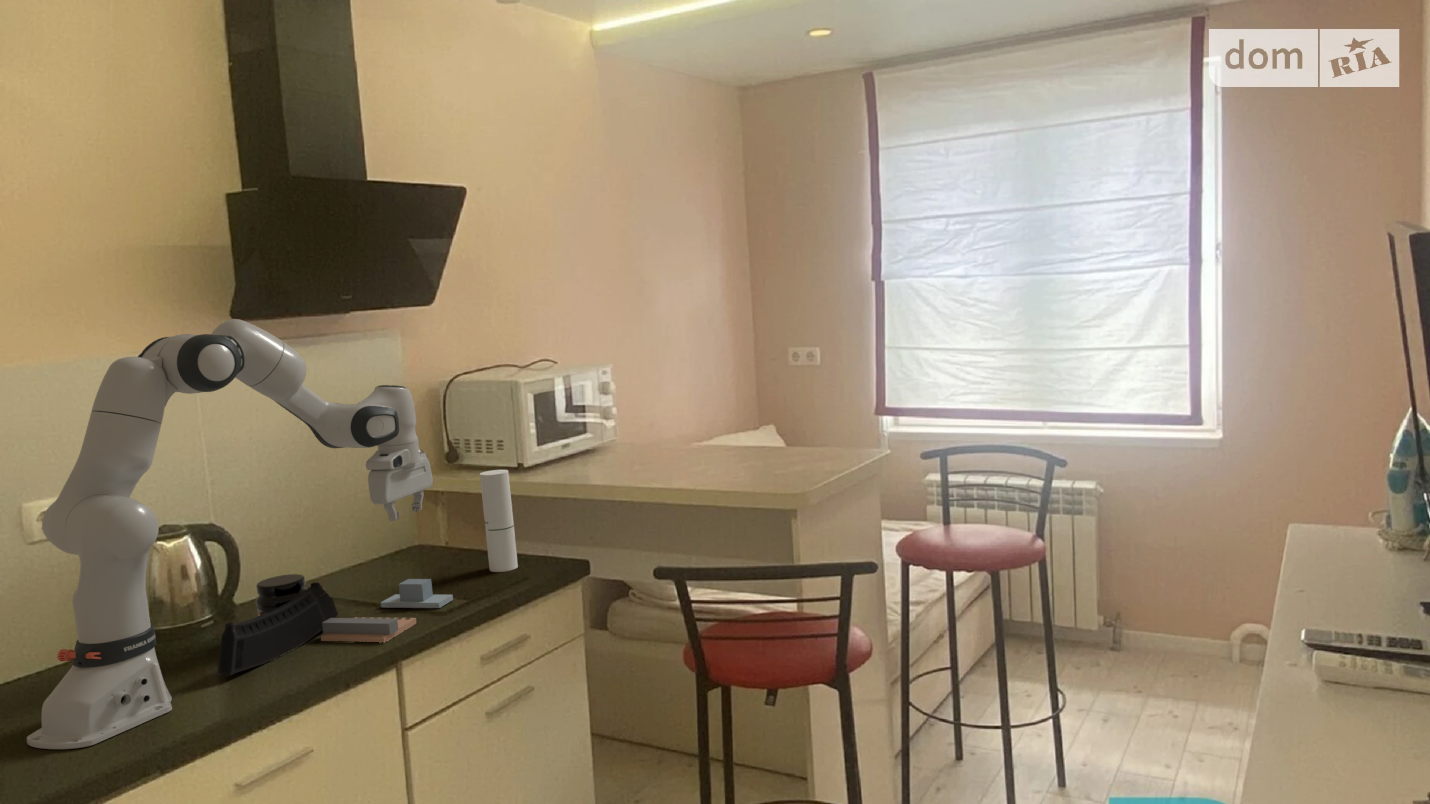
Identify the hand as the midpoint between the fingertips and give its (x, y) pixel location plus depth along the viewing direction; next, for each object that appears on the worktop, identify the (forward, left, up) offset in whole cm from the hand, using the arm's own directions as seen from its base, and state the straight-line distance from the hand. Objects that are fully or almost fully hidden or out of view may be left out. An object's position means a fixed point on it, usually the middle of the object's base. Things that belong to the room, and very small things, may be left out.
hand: (406, 515), depth 225 cm
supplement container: (-20, +19, -21) cm, 35 cm away
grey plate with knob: (0, 0, -21) cm, 21 cm away
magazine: (-30, +12, -21) cm, 39 cm away
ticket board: (-18, 0, -21) cm, 28 cm away
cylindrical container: (+30, -7, -21) cm, 37 cm away
